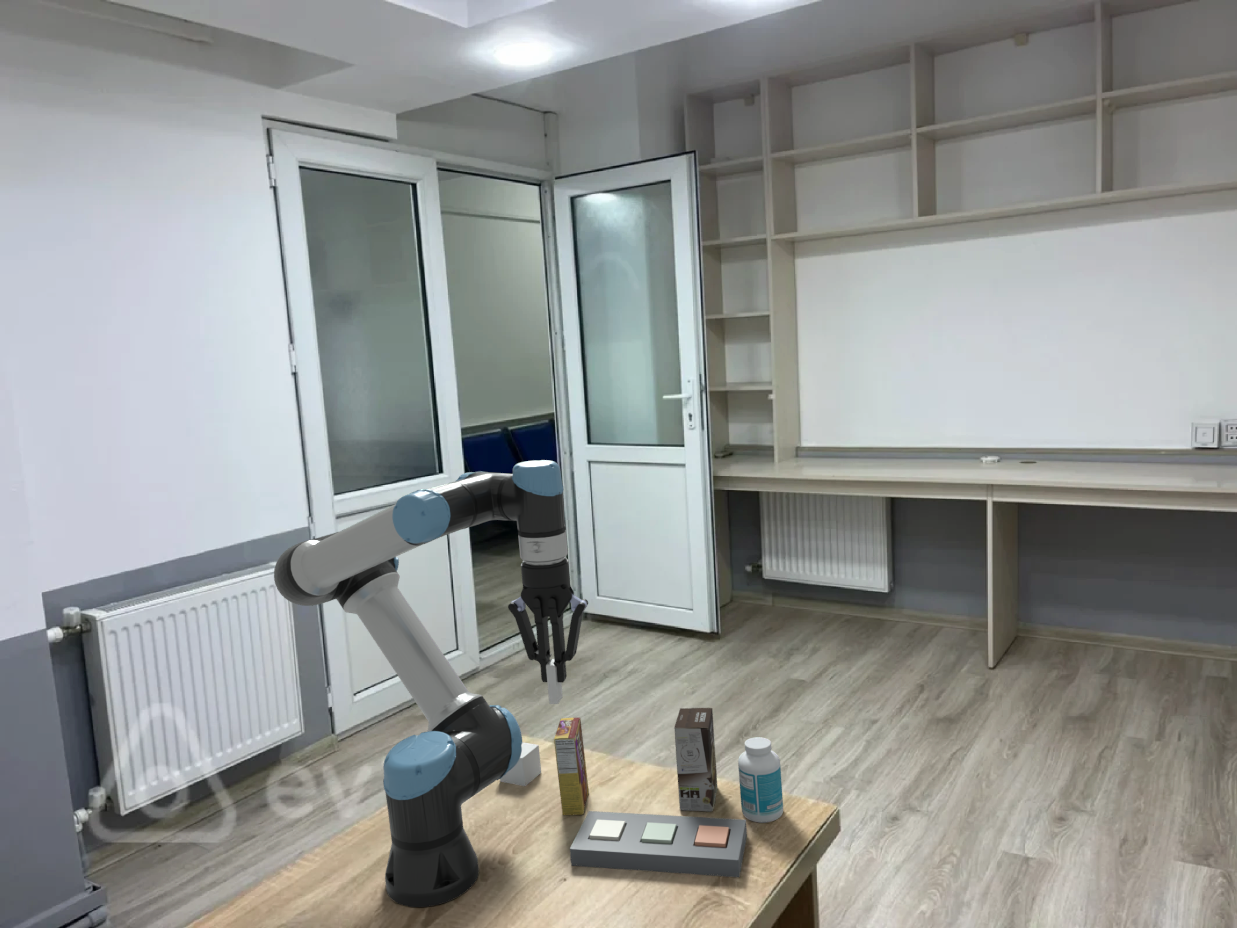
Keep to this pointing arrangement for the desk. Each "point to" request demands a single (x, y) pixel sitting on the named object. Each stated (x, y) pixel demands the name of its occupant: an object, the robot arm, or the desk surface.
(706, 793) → the coffee box
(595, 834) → the cream key
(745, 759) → the pill bottle
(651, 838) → the sage key
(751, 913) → the desk surface
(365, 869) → the desk surface
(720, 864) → the keypad
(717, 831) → the terracotta key
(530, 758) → the white cube
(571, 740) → the candy box
